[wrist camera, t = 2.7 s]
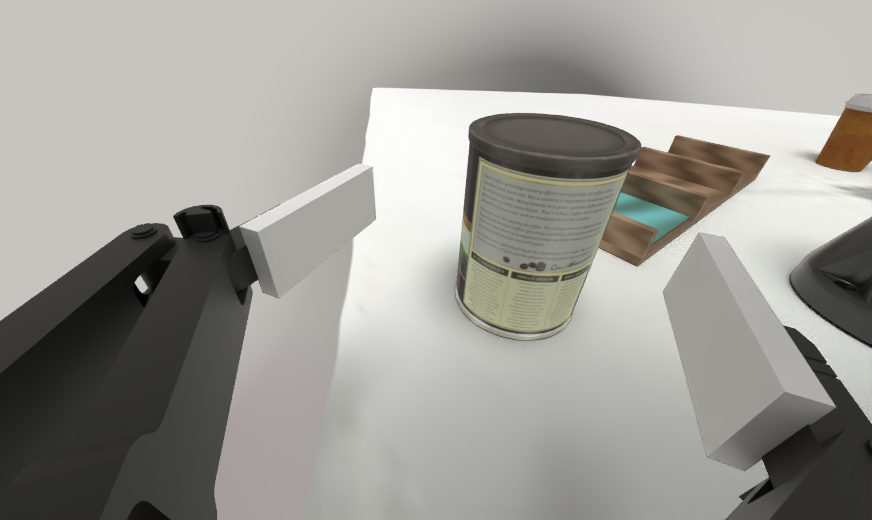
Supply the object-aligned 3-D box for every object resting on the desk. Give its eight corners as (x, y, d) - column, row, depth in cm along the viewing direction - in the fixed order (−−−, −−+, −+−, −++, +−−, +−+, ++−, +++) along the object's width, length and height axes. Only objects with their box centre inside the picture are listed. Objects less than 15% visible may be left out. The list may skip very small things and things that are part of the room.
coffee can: (435, 275, 30) (443, 116, 22) (525, 253, 34) (560, 109, 26) (492, 359, 23) (535, 166, 15) (600, 320, 26) (684, 146, 18)
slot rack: (755, 179, 55) (770, 155, 52) (637, 266, 33) (654, 232, 30) (667, 156, 64) (677, 135, 61) (528, 212, 42) (535, 183, 39)
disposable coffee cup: (798, 162, 63) (846, 95, 56) (811, 155, 68) (857, 91, 61) (867, 178, 57) (931, 105, 50) (878, 169, 61) (937, 100, 54)
